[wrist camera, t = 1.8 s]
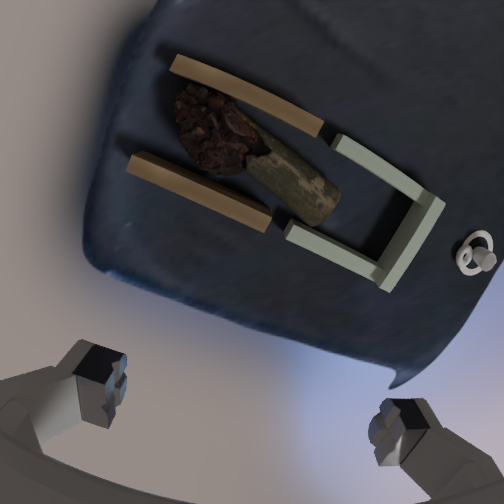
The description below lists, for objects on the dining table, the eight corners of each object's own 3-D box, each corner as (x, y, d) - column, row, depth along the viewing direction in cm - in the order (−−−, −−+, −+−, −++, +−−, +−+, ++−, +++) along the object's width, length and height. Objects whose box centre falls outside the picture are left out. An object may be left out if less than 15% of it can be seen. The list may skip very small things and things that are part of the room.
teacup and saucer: (446, 260, 43) (459, 272, 40) (471, 218, 41) (487, 227, 37) (473, 280, 45) (486, 292, 41) (497, 242, 42) (511, 252, 39)
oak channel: (184, 59, 31) (177, 53, 28) (316, 120, 35) (324, 121, 31) (136, 165, 36) (125, 171, 33) (262, 221, 40) (264, 233, 36)
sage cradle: (337, 133, 35) (347, 135, 32) (430, 195, 39) (445, 203, 35) (283, 231, 40) (287, 243, 37) (379, 278, 44) (389, 292, 40)
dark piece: (335, 185, 38) (351, 199, 32) (293, 231, 41) (301, 253, 35) (201, 76, 33) (192, 68, 27) (159, 128, 35) (143, 132, 29)
